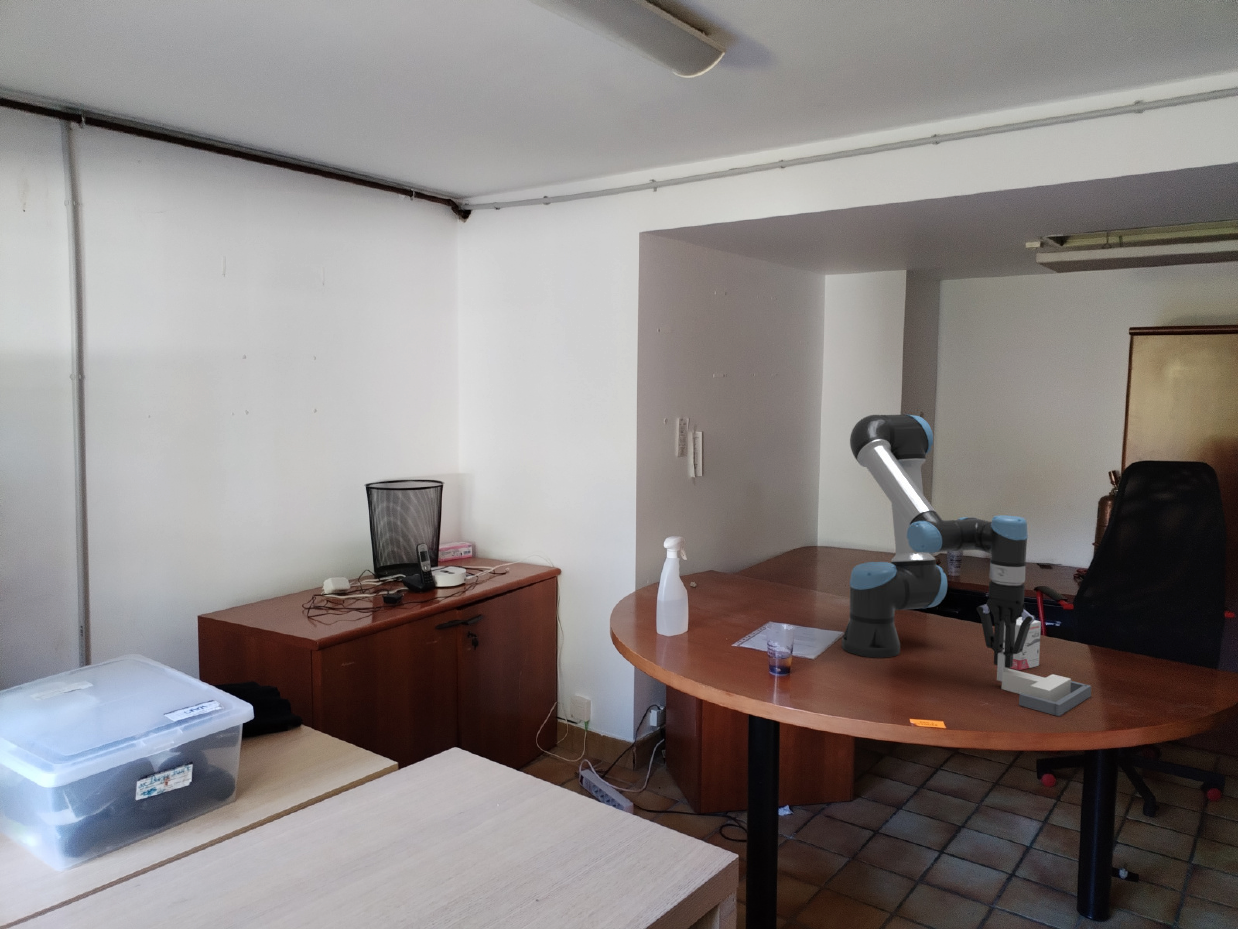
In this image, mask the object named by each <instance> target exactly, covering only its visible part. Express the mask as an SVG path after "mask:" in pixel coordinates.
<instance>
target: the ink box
mask: <svg viewBox="0 0 1238 929" xmlns="http://www.w3.org/2000/svg"><path fill="white" fill-rule="evenodd" d="M1022 622H1023V621H1022V616H1020V617H1019V618H1018V619H1017V621H1016V625H1015V641H1016V638H1017V635H1018V632H1019V629H1020V626H1021V623H1022ZM1041 627H1042V622H1041V621H1039V620H1036V619H1035V620H1034V621H1033V622H1032V623H1031V625H1030V628H1029V631H1028V634H1027V637H1026V640H1025V643H1024V647H1023V650H1022V652H1020V653H1018V654H1013V666H1012V667H1011V668H1010V669H1012V670H1016V671H1023V670H1026V669H1031V668H1034V667H1038V666H1040V651H1041V650H1040V647H1041V629H1042V628H1041ZM1005 630H1006V626H1005V623H1004V640H1003V648H1004V650H1002V651H1005Z"/></svg>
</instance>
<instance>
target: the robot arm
mask: <svg viewBox="0 0 1238 929" xmlns="http://www.w3.org/2000/svg"><path fill="white" fill-rule="evenodd" d="M849 437H850V438H849V446H850V450H851V452H852V455H853V457H854V459H855V460H856V462H857V463H858V464H859V465H860V466H861V467H864V468H866V469H867V470H868V472H869V473H870V475H871V476H872V477H873V479H874V480H875V482H876V483H877V484H878V486H879V487H880V488H881V490H882V491H883V493H884V494H885V495H886V498H887V499H888V500H889V501H890V503H891V510H892V512H891V513H892V523H893V524H892V525H893V535H894V544H895V555H894V556H893V557H892V559H891V560H890V562H887V561H878V562H877V561H869V562H868V561H867V562H863V563H859V564H857V565H855V566H854V567H853V568H852V569H851V573H850V579H849V586H850V588H849V589H850V590H849V620H848V622H847V625H846V627H845V631H844V633H843V636H842V639H841V647H842V649H843V651H846V652H848V653H851V654H853V655H857V656H861V657H867V658H876V659H877V658H880V659H881V658H890V657H891V658H892V657H896V656H898V655H899V654H900V653H901V642H900V638H899V636H898V635H899V634H898V631H897V629H896V626H895V611H903V610H904V611H905V610H915V609H922V610H924V609H927V608H933V607H936V606H938V605H939V604H941V602H942V601H943V600H944V599H945V597H946V595H947V591H948V578H947V574H946V573H945V572H944V569H943V568H942V567H941V566H940V565H937V562H936V558H935V557H934V556H933V555H932V554H933V553H941V552H959V551H961V552H963V551H980V552H985V553H988V554H990V558H989V559H990V560H989V563H990V564H989V565H990V566H989V579H990V581H989V584H988V599H987V601H986V604H982V605H979V606H977V607H976V611H977V613H978V615H979V617H980V620H981V627H982V632H983V636H984V637H983V638H984V643H985V647H987V648H988V649H992V651H993V652H994V653H993V664H994V665H995V666H997V667H996V668H997V669H996V681H999V682H1002V672H1004V671H1006V670H1009V669H1012V668H1011V667H1012V666H1013V654H1018V653H1020V652H1022V650H1023V647H1024V643H1025V640H1026V637H1027V634H1028V631H1029V628H1030V625H1031V623H1032V622H1033V621H1034V620H1036V616H1035V615H1034V614H1030V613H1029V612H1028V611H1027V610H1026V609H1027V608H1026V606H1025V587H1026V586H1025V584H1024V583H1025V582H1026V562H1027V561H1026V560H1027V547H1028V546H1027V544H1028V538H1029V535H1028V522H1027V520H1026V518H1024V517H1022V516H1017V515H1016V516H1014V515H1005V514H1003V515H995V516H993V517H992V519H991V521H989V520H984V519H980V518H977V517H966V516H963V517H959V518H958V519H952V520H951V519H949V520H948V519H947V520H946V519H945V520H944V519H942V518H941V516H940V515H939V514H938V513H937V511H936V510H935V508H934V507H933V506H932V505H931V503H930V502H929V500H928V499H927V498H926V496H925V495H924V488H923V479H922V478H923V477H922V469H921V468H922V465H923V464H924V463H925V462H926V460H927V457H926V455H928V454H930V452H931V450H932V446H933V445H934V434H933V431H932V427H931V426H930V424H929V423H928V421H927V420H925V419H924V417H921V416H919V415H911V414H907V413H906V414H871V415H868V416H867V415H866V416H865V417H862V418H861V419H860V420H859V421H857V422H856V424H855V425H854V427H853V428H852V430H851V433H850V436H849ZM990 613H991V614H990ZM991 615H993V623H992V618H991ZM1019 617H1022V621H1023V622H1022V623H1021V626H1020V629H1019V632H1018V635H1017V638H1016V641H1015V625H1016V621H1017V619H1018V618H1019ZM1004 623H1005V626H1006V630H1005V651H1003V650H1004V648H1003V640H1004ZM993 624H994V628H993Z"/></svg>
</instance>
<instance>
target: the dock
mask: <svg viewBox="0 0 1238 929" xmlns="http://www.w3.org/2000/svg"><path fill="white" fill-rule="evenodd" d="M1091 695H1092V685H1090V684H1087V683H1083V682H1082V683H1081V682H1078V681H1073V680H1071V688H1070V694H1069V695H1067V696H1065V697H1064V698H1062V699H1060V700H1058V701H1057V702H1053V701H1050V700H1046V699H1042V698H1039V697H1035V696H1031V695H1027V694H1024V693H1021V694H1019V695H1018V696H1019V697H1018V706H1020V707H1021V706H1022V707H1024V708H1029V709H1032V710H1035V711H1037V712H1038V711H1039V712H1042V713H1046V714H1049V715H1053V716H1055V717H1060V716H1063V715H1064V714H1065V713H1067V712H1068V711H1070V710H1071V709H1073V708H1075V707H1076V706H1078V705H1079V704H1081V703H1082V702H1084V701H1086V700H1087V699H1089V698H1090V697H1091Z"/></svg>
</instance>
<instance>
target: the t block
mask: <svg viewBox="0 0 1238 929" xmlns="http://www.w3.org/2000/svg"><path fill="white" fill-rule="evenodd" d="M1071 681H1072V678H1070V677H1065V676H1061V675H1057V674H1053V673H1052V674H1050V675H1048V676H1047V677H1043V676H1039V675H1037V674H1036V675H1035V674H1033V673H1028V672H1023V671H1021V670H1016V669H1012V668H1009V670H1006V671H1004V672H1002V681H1001V690H1004V691H1007V692H1011V693H1015V694H1021V693H1024V694H1027V695H1031V696H1035V697H1039V698H1042V699H1046V700H1050V701H1053V702H1057V701H1058V700H1060V699H1062V698H1064V697H1065V696H1067V695H1069V694H1070V688H1071Z"/></svg>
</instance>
